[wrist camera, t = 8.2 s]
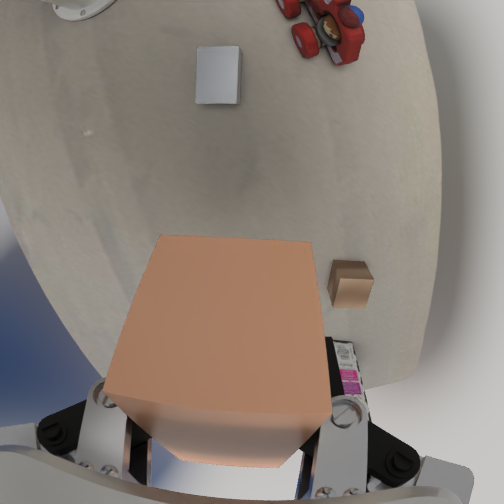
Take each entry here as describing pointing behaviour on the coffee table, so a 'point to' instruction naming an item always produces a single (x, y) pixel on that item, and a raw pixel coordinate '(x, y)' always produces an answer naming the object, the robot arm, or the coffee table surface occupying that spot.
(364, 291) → the walnut square block
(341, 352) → the candy bar box
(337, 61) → the toy fire truck
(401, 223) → the coffee table surface
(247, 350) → the terracotta long brick
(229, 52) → the grey short brick
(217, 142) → the coffee table surface
